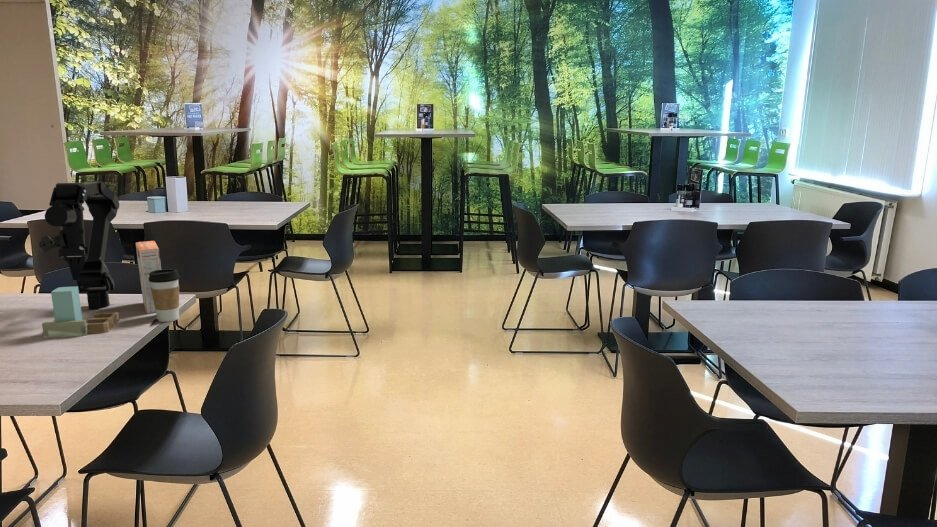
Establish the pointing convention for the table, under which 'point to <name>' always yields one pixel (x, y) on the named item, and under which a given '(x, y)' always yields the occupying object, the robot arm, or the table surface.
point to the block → (66, 304)
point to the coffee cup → (165, 293)
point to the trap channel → (81, 326)
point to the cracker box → (147, 270)
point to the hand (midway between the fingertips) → (75, 280)
